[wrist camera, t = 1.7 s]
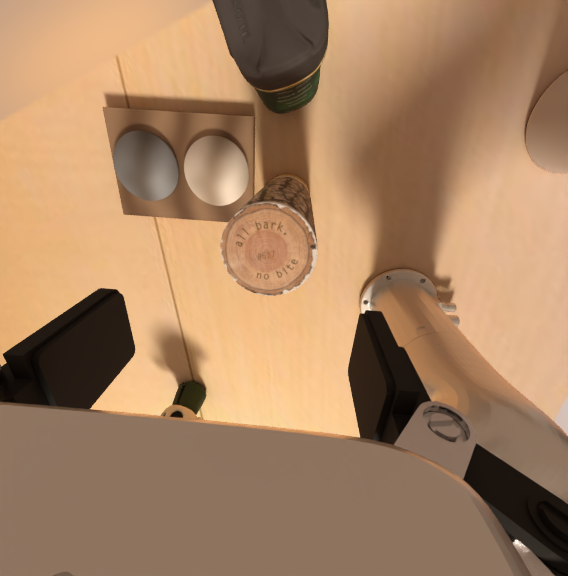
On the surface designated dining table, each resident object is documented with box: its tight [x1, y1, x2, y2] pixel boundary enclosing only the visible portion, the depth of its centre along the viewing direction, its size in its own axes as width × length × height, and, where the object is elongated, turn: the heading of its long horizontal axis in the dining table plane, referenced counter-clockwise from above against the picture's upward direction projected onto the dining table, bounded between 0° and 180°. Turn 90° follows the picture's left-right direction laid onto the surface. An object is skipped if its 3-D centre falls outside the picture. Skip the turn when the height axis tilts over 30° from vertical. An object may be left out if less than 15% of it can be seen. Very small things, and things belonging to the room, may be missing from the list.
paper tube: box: [221, 174, 317, 296], centre depth 30 cm, size 7×7×25 cm
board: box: [103, 107, 255, 222], centre depth 40 cm, size 20×14×2 cm
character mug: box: [161, 381, 206, 420], centre depth 55 cm, size 11×7×13 cm, turn 109°
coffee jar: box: [213, 0, 329, 113], centre depth 26 cm, size 10×8×19 cm
